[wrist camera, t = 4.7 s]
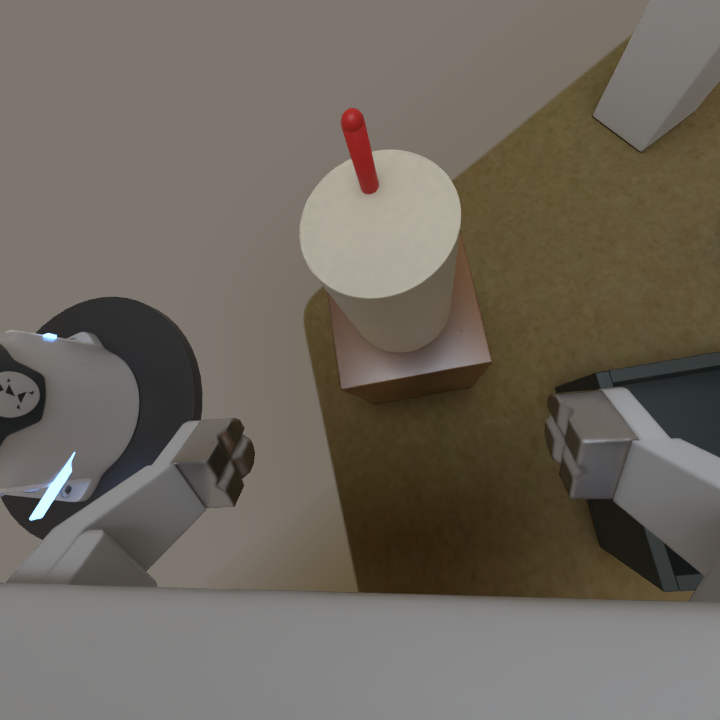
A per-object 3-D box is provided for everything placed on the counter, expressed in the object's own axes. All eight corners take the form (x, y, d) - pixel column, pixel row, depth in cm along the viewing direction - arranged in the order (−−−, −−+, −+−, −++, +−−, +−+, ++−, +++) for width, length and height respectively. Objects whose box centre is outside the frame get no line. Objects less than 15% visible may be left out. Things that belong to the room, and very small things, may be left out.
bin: (600, 547, 27) (664, 592, 19) (555, 387, 30) (595, 372, 22) (810, 528, 24) (976, 572, 17) (739, 356, 27) (854, 328, 20)
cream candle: (360, 361, 21) (267, 278, 9) (346, 272, 22) (251, 103, 11) (460, 342, 20) (494, 220, 8) (439, 250, 21) (444, 36, 10)
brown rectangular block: (374, 403, 33) (340, 390, 21) (359, 314, 35) (321, 257, 23) (471, 387, 31) (493, 362, 19) (450, 294, 33) (458, 222, 22)
